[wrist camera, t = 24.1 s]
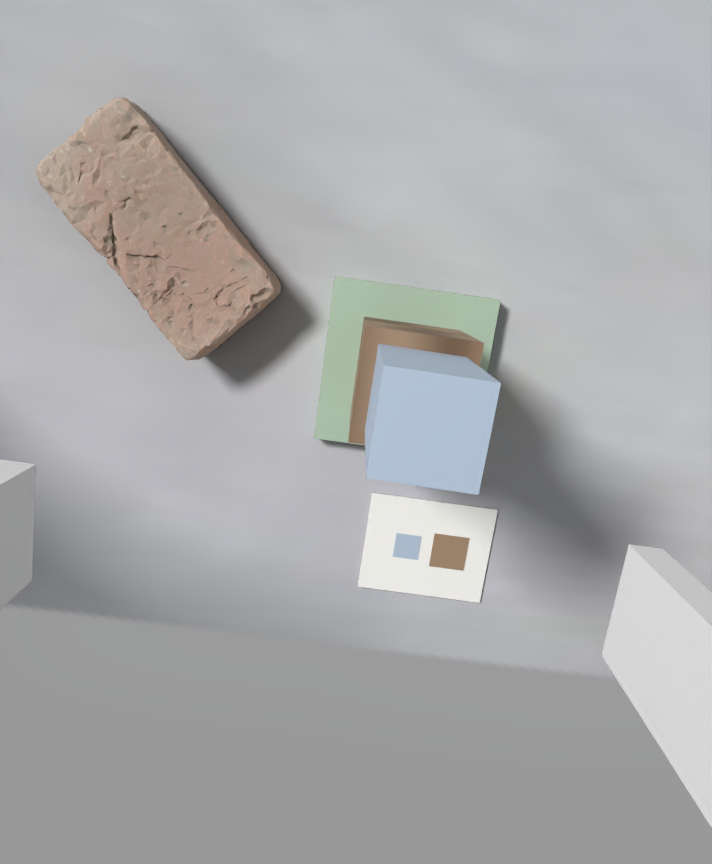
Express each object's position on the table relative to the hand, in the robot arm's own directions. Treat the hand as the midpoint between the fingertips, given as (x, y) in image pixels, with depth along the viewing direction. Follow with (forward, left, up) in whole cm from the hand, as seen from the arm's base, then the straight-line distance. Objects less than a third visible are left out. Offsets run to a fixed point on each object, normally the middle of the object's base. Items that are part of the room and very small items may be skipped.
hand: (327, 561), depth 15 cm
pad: (+4, 0, -37) cm, 37 cm away
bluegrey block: (+4, 0, -26) cm, 26 cm away
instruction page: (+8, -14, -37) cm, 40 cm away
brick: (-14, +7, -37) cm, 41 cm away
